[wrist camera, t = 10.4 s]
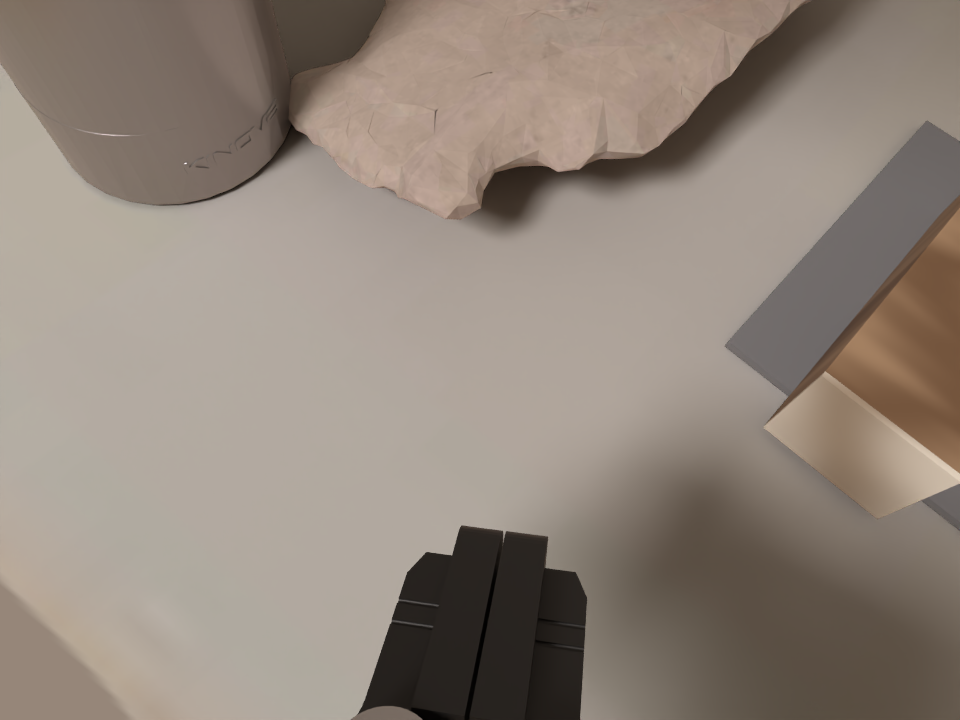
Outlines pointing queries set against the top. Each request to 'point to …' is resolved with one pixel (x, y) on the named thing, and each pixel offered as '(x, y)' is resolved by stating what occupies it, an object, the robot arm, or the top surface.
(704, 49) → the stone
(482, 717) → the robot arm
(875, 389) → the block
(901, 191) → the mat
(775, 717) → the top surface
